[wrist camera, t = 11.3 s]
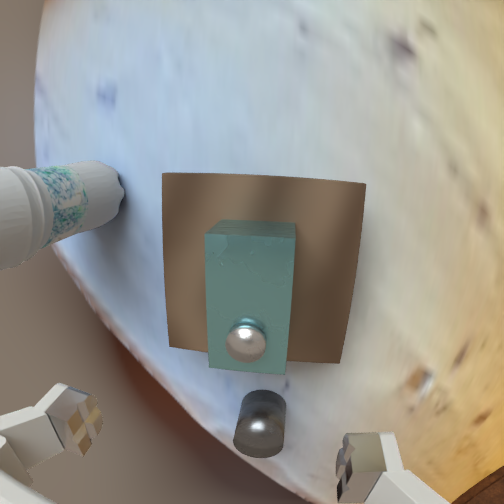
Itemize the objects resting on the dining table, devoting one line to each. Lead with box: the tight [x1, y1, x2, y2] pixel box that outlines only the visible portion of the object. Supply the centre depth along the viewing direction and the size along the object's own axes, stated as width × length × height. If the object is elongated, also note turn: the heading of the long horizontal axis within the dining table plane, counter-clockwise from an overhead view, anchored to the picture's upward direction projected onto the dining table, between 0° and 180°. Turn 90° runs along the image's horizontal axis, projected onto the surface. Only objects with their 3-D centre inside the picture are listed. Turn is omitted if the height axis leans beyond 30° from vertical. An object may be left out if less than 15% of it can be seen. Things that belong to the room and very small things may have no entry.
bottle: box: [0, 161, 124, 270], centre depth 20 cm, size 7×7×20 cm
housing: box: [205, 219, 296, 375], centre depth 21 cm, size 5×9×5 cm, turn 179°
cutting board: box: [451, 466, 504, 504], centre depth 36 cm, size 32×32×3 cm
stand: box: [162, 173, 366, 364], centre depth 26 cm, size 14×14×6 cm
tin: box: [233, 390, 286, 458], centre depth 31 cm, size 5×5×6 cm
